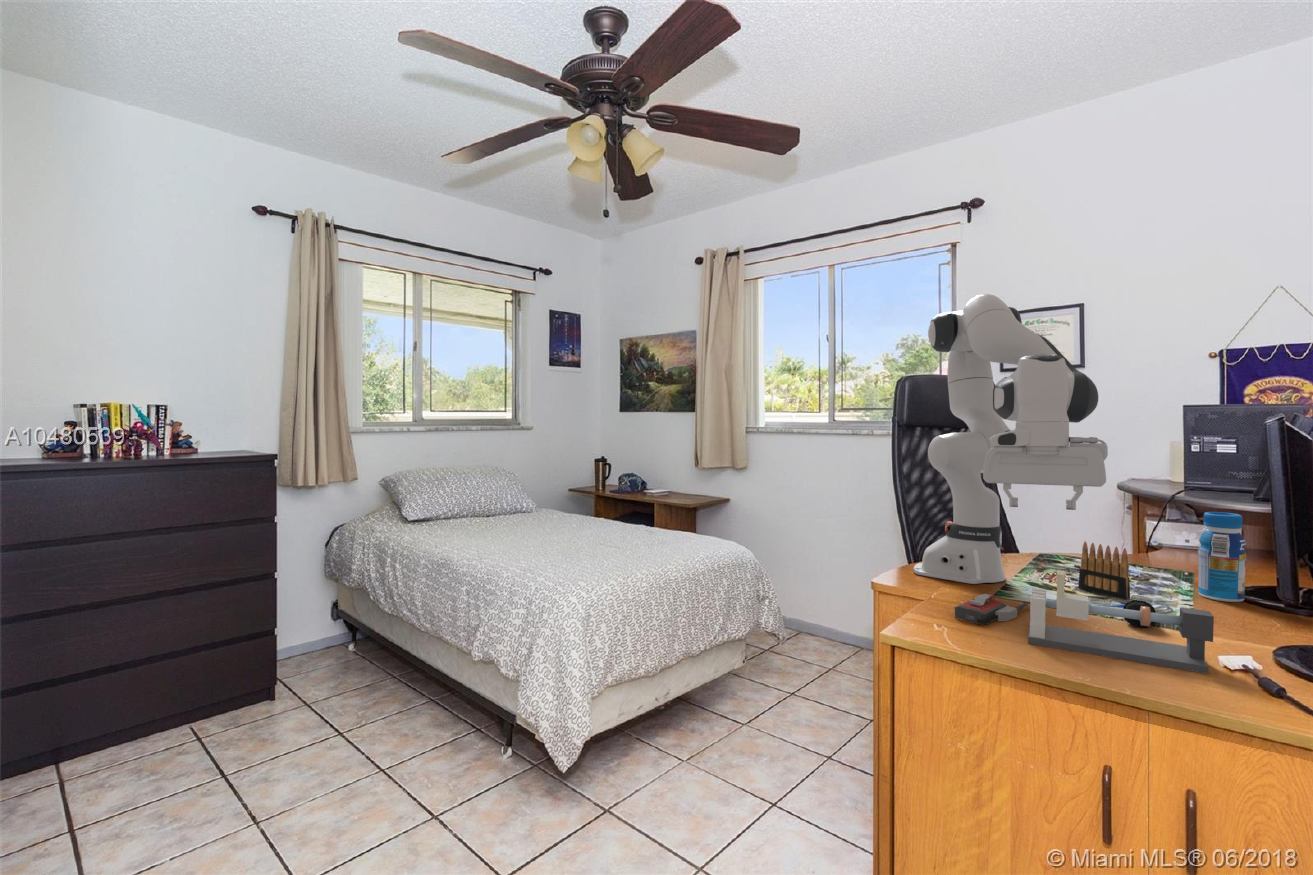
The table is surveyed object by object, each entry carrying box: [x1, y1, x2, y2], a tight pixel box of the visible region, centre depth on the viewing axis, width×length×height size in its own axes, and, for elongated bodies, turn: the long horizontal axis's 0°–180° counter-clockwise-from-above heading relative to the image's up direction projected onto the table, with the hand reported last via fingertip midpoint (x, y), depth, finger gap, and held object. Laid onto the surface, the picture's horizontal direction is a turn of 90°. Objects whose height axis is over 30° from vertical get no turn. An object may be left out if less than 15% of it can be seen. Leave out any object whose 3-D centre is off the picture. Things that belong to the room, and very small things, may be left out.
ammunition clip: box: [1078, 541, 1131, 600], centre depth 150 cm, size 11×2×12 cm, turn 26°
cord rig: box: [1027, 587, 1215, 675], centre depth 114 cm, size 27×10×9 cm, turn 57°
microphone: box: [1122, 599, 1157, 629], centre depth 132 cm, size 6×6×20 cm
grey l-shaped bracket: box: [1056, 569, 1090, 621], centre depth 117 cm, size 5×4×8 cm
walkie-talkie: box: [954, 593, 1029, 626], centre depth 135 cm, size 9×4×20 cm
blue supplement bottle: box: [1197, 511, 1247, 603], centre depth 145 cm, size 8×8×20 cm
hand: (1041, 508), depth 120 cm, fingers open, 8 cm apart
